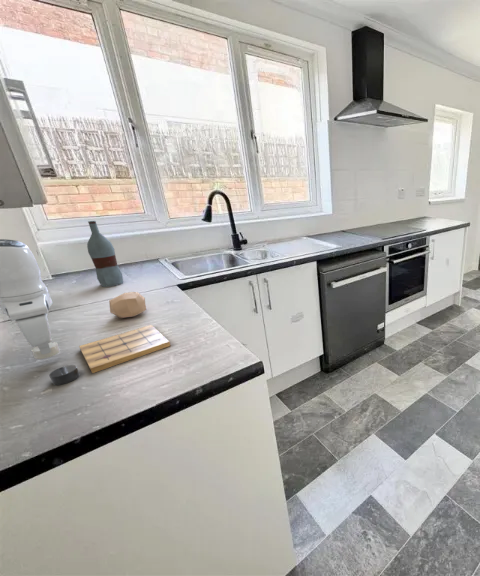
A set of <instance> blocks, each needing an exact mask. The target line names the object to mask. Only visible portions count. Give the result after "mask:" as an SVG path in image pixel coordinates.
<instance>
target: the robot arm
mask: <svg viewBox="0 0 480 576" xmlns="http://www.w3.org/2000/svg"><path fill="white" fill-rule="evenodd" d="M52 305H53V300H52V298H51V294H50V291H49V290H48V287H47V284H45V282H44V281H43V279H42V271H41V268H40V266H39V263H38V261H37V259H36V257H35V254H34V253H33V251H32V250H31V248H30V247H29V246H28V245H27V244H26V243H25V242H22V241H19V240H16V239H8V238H7V239H6V238H5V239H4V238H1V239H0V310H1V312H2V314H3V315H6V316H8V317H9V320H10V321H14V322H15V323H16V326H17V327H18V329H19V330H20V332H21V334H22V336H23V337H24V339H25V340H26V342H27V343H28V344H29V346H31V347H32V348H34V347H37V346H38V348H39V349H40V352H41V354H47V353H50V352H51V350H50V347H49V343H51V342H53V341H52V340H53V339H52V333H51V328H50V324H49V319H48V313H49V314H50V308H51V306H52Z"/></svg>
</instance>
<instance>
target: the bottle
mask: <svg viewBox="0 0 480 576" xmlns="http://www.w3.org/2000/svg"><path fill="white" fill-rule="evenodd" d="M87 223H88V225H89V230H90V232H91V234H90V237H89V238H88V241H87V244H86V245H87V246H86V248H87V253H88V255H89V257H90V259H91V261H92V263H93V265H94V268H95V273H96V274H95V275H96V279H97V281H98V283H99V285H100V286H101V287H103V288H110V287H116V286H119V285H122V284H123V283H124V276H123V273H122V271H121V268H120V267H119V265H118V261H117V257H116V251H115V248H114V246H113V243H112V242H111V240H109V239H108V238H107V237H105V235H103V234H102V233H100V230H99V226H98V224H97V221H96V220H88V221H87Z"/></svg>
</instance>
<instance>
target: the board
mask: <svg viewBox="0 0 480 576" xmlns="http://www.w3.org/2000/svg"><path fill="white" fill-rule="evenodd" d="M171 346H172V345H171V341H169V340H168V339H167V338H166V336H165V335H163V334H162V333H161V332H160V331H159V330H158V329H157V328H156V327H155V326H153V325H152V324H148V325H145V326H141V327H139V328H135V329H132V330H128V331H125V332H121V333H119V334H114V335H112V336H108V337H104V338H101V339H98V340H95V341H91V342H88V343H85V344H82V345H79V346H78V347H79V350H80V351H81V354H82V355H83V358H84V360H85V362H86V363H87V366H88V368H89V369H90V372H91V374H95V373H97V372H100V371H103V370H106V369H108V368H111V367H114V366H118V365H120V364H123V363H126V362H128V361H132V360H135V359H136V358H140V357H143V356H145V355H148V354H151V353H154V352H158V351H160V350H163V349H166V348H168V347H171Z"/></svg>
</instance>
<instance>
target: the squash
mask: <svg viewBox="0 0 480 576" xmlns="http://www.w3.org/2000/svg"><path fill="white" fill-rule="evenodd" d="M108 303H109V312H110V313H111V314H112V315H114V316H116V317H117V318H119V319H126V318H132V317H136V316H137V315H140V314H142V313H143V312H145V311H147V306H146V305H147V304H146V297H144V295H141V293H139V292H138V291H129V292H124V293H123V292H122V293H121V294H120V295H117V296H115V297H113V298H112V299H109V300H108Z"/></svg>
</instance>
